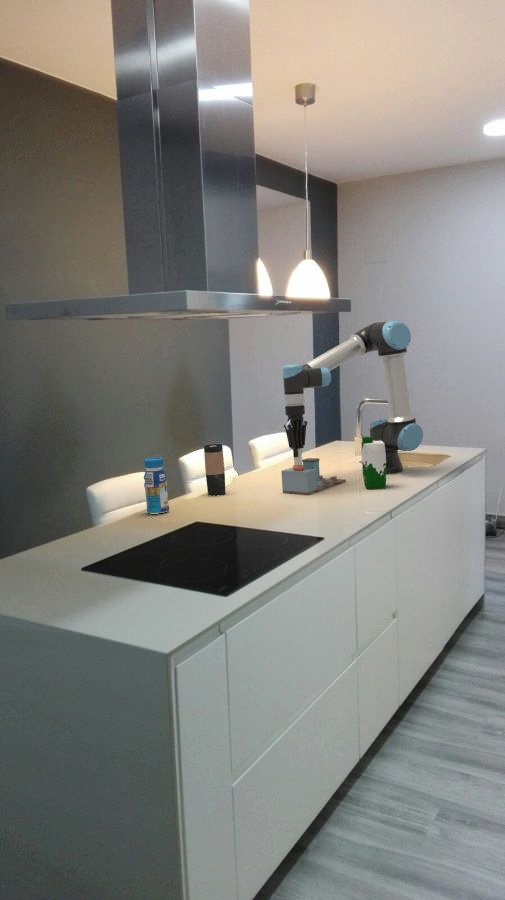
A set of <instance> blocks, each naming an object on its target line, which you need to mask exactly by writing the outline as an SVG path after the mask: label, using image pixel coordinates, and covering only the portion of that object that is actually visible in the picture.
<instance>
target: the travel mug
mask: <svg viewBox="0 0 505 900" xmlns="http://www.w3.org/2000/svg"><path fill="white" fill-rule="evenodd" d="M223 448H224V447H223V444H222V443H221V444H220V443H214V444H213V443H212V444H206V445H204V446H203V454H204V464H205V465H204V467H205V468H204V470H205V480H206V487H207V496H209V495H215V496H214V497H218V496H217V495H220V496H224V495H226V473H225V461H224V450H223Z"/></svg>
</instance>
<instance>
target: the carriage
mask: <svg viewBox="0 0 505 900" xmlns="http://www.w3.org/2000/svg"><path fill="white" fill-rule="evenodd" d="M320 461H321V460H320V458H316V457H315V458H314V457H307V458H304V459H302V465H304V469H316V476H317V482H318V481H320V475H321V474H320Z"/></svg>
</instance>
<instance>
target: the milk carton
mask: <svg viewBox="0 0 505 900" xmlns="http://www.w3.org/2000/svg"><path fill="white" fill-rule="evenodd" d="M361 439H362V441H361V462H362V463H361V464H362V465H361V466H362V477H363V478H362V480H363V483H364V487H365V489H366V490H367V491H368V490H381V489H382V490H383V489H386V488H387V487H386V485H387V484H386V483H387V474H386V453H385V444H384V442H382V441H373V437H370V436H363V437H362V438H361Z"/></svg>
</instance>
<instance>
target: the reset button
mask: <svg viewBox="0 0 505 900" xmlns="http://www.w3.org/2000/svg"><path fill="white" fill-rule="evenodd" d="M292 468H293V470H296V471H301V470H304V465H303V464H302V465H300V466H299V465H294V464H293V465H292Z"/></svg>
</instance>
